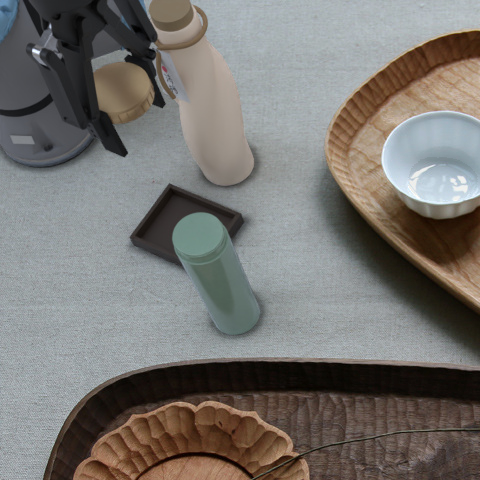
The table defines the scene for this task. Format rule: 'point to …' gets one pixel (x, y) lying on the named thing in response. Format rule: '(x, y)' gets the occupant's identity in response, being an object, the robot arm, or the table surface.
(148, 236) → the lid tray
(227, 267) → the thermos flask
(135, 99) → the lid
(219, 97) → the water bottle
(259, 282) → the table surface
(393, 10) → the table surface
